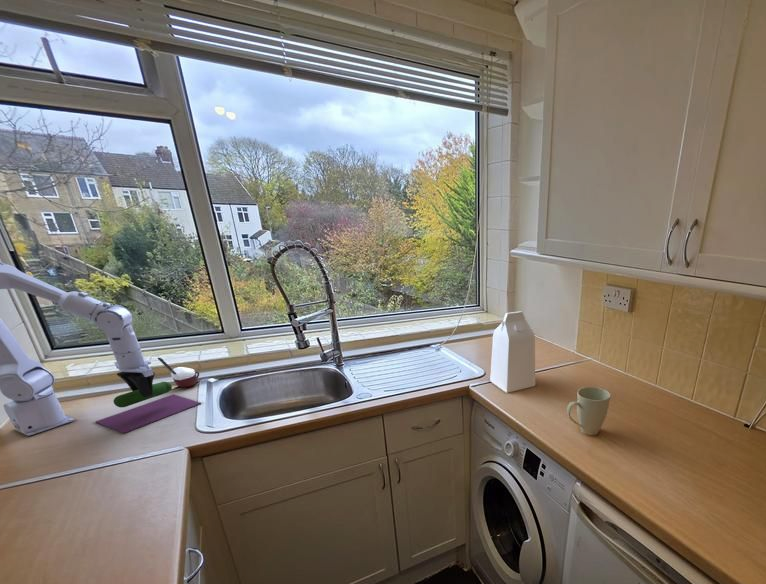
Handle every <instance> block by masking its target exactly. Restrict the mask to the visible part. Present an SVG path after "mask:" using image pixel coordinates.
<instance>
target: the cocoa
mask: <svg viewBox="0 0 766 584" xmlns="http://www.w3.org/2000/svg"><path fill="white" fill-rule="evenodd" d="M157 360H158V361H159V362H160V363H161V364H162V365H163V366H164V367H165V368H166V369H167V370H168V371H169V372H170V375H171V378H172V380H173V381H174V383H175V384H176V386H178V387H179V388H184V389H185V388H186V389H187V388H191V387H193V386H195V384H196V383H197V382H198V379H199V377H200V372H199V371H195V369H194V368H189V367H185V366H178V367H174V368H172V367H171V366H170V365H169V364H168V363H167V362H166V361H165V360H164V359H163V358H162V357H157Z"/></svg>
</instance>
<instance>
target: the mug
mask: <svg viewBox="0 0 766 584" xmlns="http://www.w3.org/2000/svg"><path fill="white" fill-rule="evenodd" d="M576 394H577V395H576V398H577V399H576V401H571V402H569V403H568V405H567V407H566V414H567V417H568V419H569V420H570V421H571V422H573V424H575V425H577V426H578V427H579V428H580V431H581V433H582V434H584V435H586V436H596V435H598V433H599V432H600V430H601V428H602V426H603V424H604V422H605V420H606V418H607V414H608V411H609V405H610V400H611V392H609V391H608V390H606V389H604V388H601V387H597V386H583V387H580V388H579V389H577V393H576ZM575 405H576V413H577V419H578V422H577V421H576V420H574V419H573V418H572V416H571V411H572V408H573V406H575Z"/></svg>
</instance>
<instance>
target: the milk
mask: <svg viewBox="0 0 766 584" xmlns="http://www.w3.org/2000/svg"><path fill="white" fill-rule="evenodd" d="M491 347H492V348H491V359H490V361H491V362H490V375H489V377H490V378H489V381H490V382H491V384H493V385H495V386H496V387H498V388H499V389H500V390H502V391H503V392H505V393H506V394H507V393H511V392H515V391H520V390H525V389H527V388H532V387H535V386H536V335H535V333H534V331H533V329H532V328H531V325H529V323H528V321H527V320H526V317H525V315H524V312H523V311H522V310H517V311H511V312H510V311H509V312H505V314H504V317H503V320H502V322H501V323H500V324H499V325H498V326H497V327H496V328H495V329H494V330H493V333H492V344H491Z"/></svg>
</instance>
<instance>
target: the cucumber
mask: <svg viewBox="0 0 766 584" xmlns="http://www.w3.org/2000/svg"><path fill="white" fill-rule="evenodd" d="M152 388H153V395H151V396H148V397H143V396H142V395H141V393H140V392H139V390H135V391H132V390H131V391H129V392H126V393H123V394H120V395H117V396H115V398H114V399H113V405H114V406H115V407H118V408H126V407H130V406H132V405H135V404H138V403H141V402H144V401H148V400H150V399H153V398H156V397H159V396H161V395H165V394H167V393H170V392H171V391H172V389H173V386H172V384H171V383H170V382H168V381H160V382H157V383H154V384H152Z"/></svg>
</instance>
